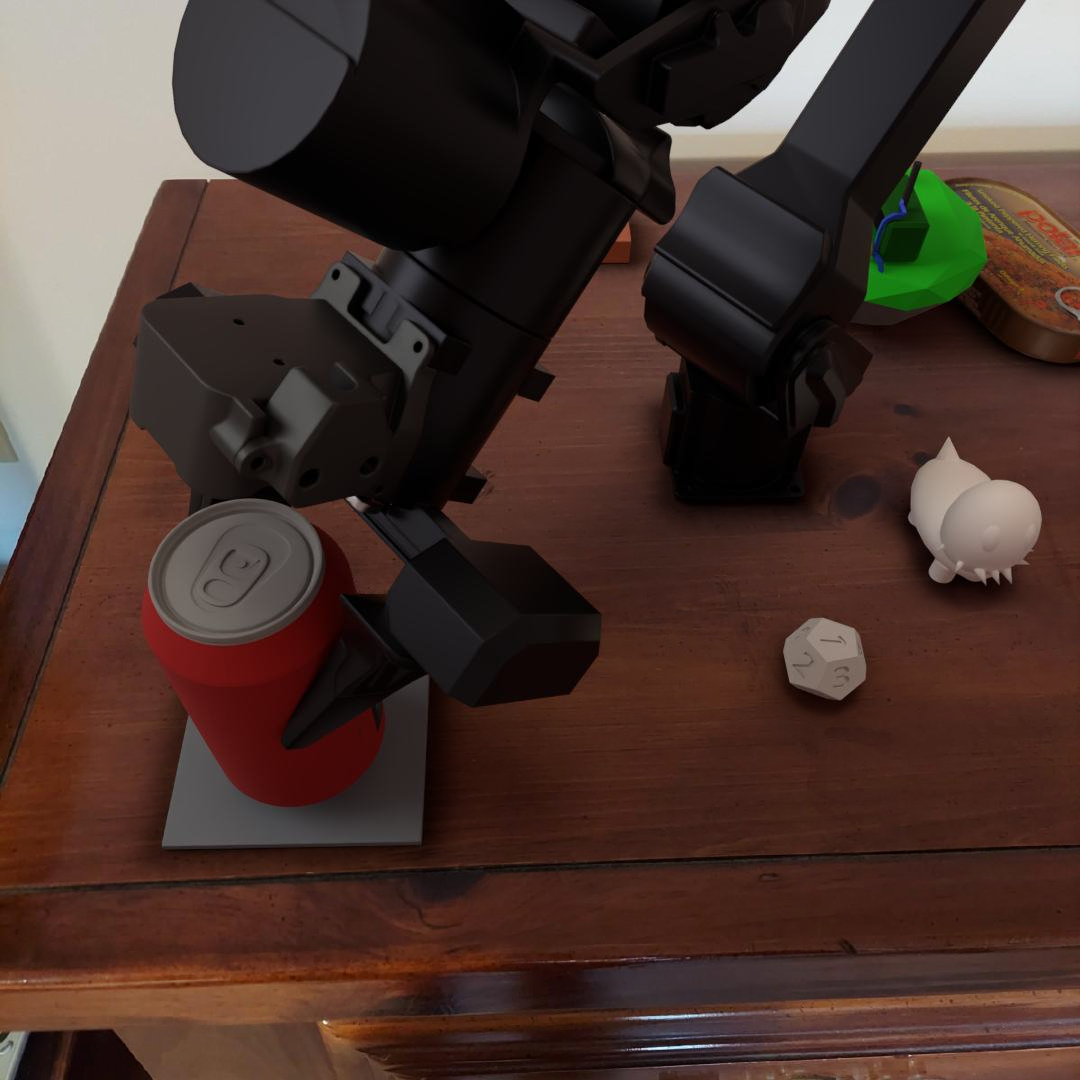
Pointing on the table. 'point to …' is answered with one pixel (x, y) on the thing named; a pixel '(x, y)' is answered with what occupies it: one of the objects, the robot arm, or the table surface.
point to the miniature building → (920, 250)
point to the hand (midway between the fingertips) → (237, 674)
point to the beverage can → (256, 644)
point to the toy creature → (972, 519)
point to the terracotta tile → (620, 248)
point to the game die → (825, 658)
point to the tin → (1024, 271)
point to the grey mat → (344, 820)
